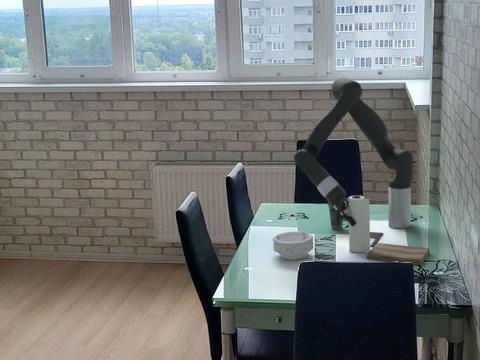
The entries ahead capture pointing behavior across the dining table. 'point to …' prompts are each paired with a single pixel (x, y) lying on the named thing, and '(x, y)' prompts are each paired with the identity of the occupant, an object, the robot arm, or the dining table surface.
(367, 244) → the paper towel roll
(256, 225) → the dining table surface
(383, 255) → the walnut board
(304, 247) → the grey marble bowl
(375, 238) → the chocolate bar
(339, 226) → the beverage cup
